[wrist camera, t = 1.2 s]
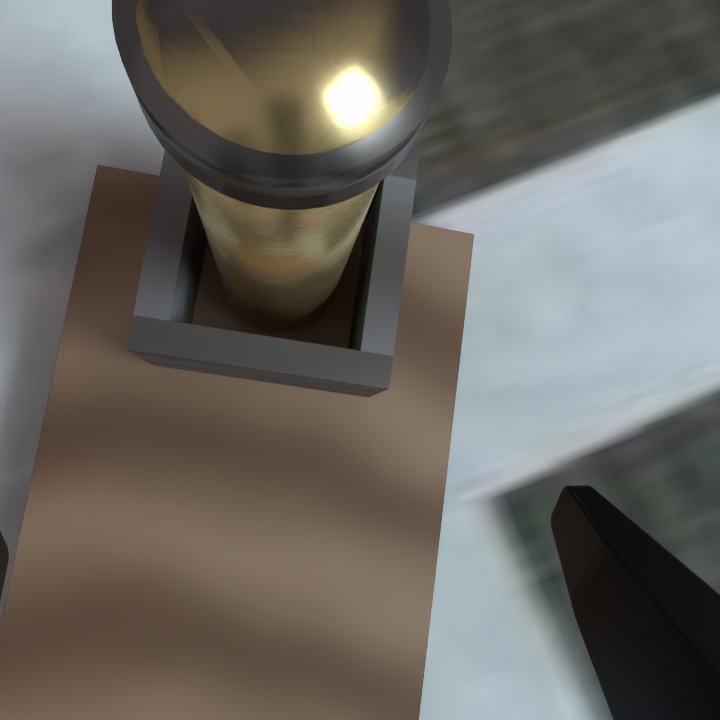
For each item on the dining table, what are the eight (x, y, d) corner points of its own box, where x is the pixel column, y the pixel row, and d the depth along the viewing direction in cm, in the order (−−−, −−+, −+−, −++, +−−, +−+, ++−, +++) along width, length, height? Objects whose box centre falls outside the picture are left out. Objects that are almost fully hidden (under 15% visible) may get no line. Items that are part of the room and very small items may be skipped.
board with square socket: (400, 774, 22) (441, 885, 16) (-8, 744, 20) (-111, 856, 15) (464, 227, 25) (517, 169, 19) (113, 162, 23) (63, 79, 18)
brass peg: (333, 350, 22) (431, 205, 8) (205, 330, 21) (79, 139, 8) (351, 230, 23) (468, -92, 9) (227, 207, 22) (147, -172, 8)
